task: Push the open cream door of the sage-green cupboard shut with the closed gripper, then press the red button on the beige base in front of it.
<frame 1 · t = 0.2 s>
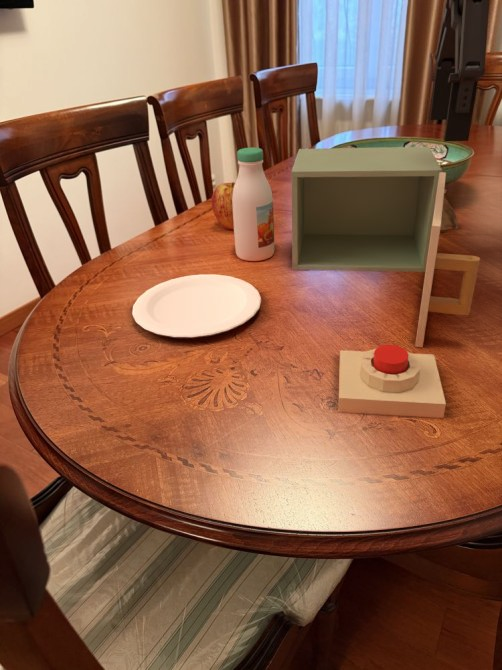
hand: (447, 129, 69), 26 cm above the table, tool pointing down, fingers open, 13 cm apart
plate: (198, 311, 85), on the table
rock: (431, 233, 108), on the table
milk bottle: (255, 255, 103), on the table
button: (390, 359, 63), point 4 cm above the table, slide at 0.1 cm
door: (450, 255, 76), point 9 cm above the table, hinge at 80.0°
button base: (387, 388, 65), on the table
cupboard: (357, 253, 100), on the table
apple: (234, 227, 117), on the table
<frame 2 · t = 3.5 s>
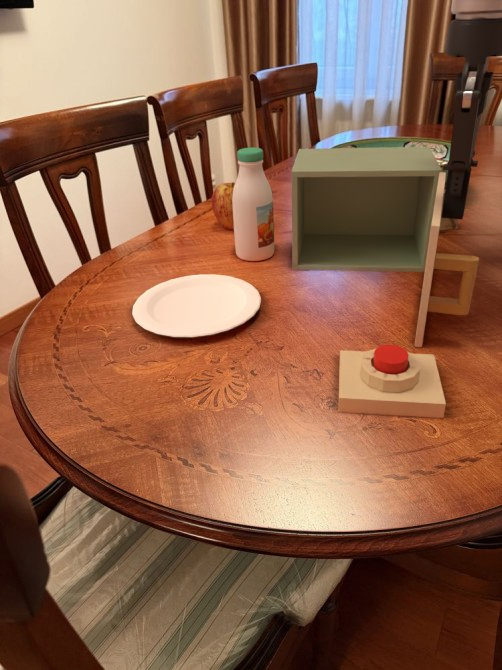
hand: (452, 216, 71), 16 cm above the table, tool pointing down, fingers closed
door: (450, 255, 76), point 9 cm above the table, hinge at 79.7°, touching gripper
everything else where it was.
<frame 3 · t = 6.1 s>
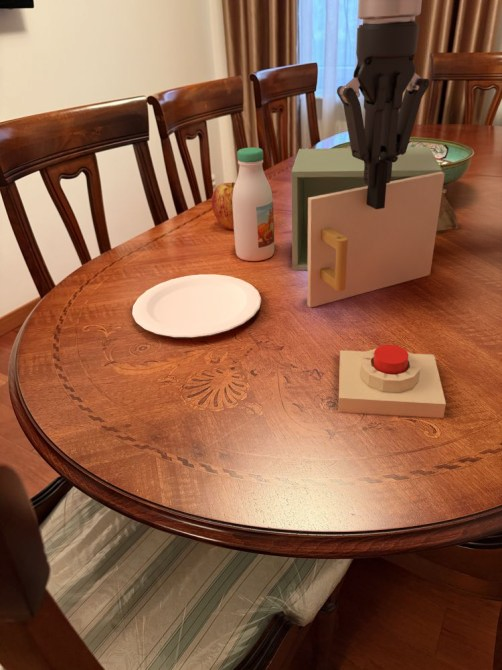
hand: (375, 206, 77), 15 cm above the table, tool pointing down, fingers closed
door: (385, 245, 81), point 9 cm above the table, hinge at 32.9°, touching gripper
everything else where it was.
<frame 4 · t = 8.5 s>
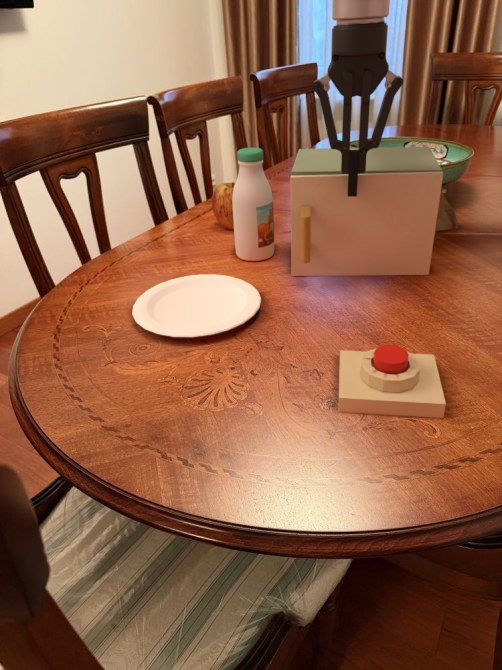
hand: (352, 193, 83), 15 cm above the table, tool pointing down, fingers closed
door: (363, 232, 85), point 9 cm above the table, hinge at 3.8°, touching gripper
everything else where it was.
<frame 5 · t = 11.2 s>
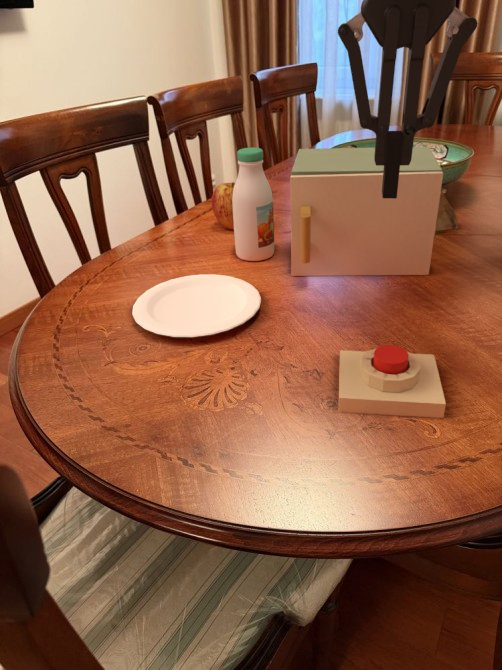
hand: (389, 194, 58), 23 cm above the table, tool pointing down, fingers closed
door: (363, 232, 86), point 9 cm above the table, hinge at 3.7°
everything else where it was.
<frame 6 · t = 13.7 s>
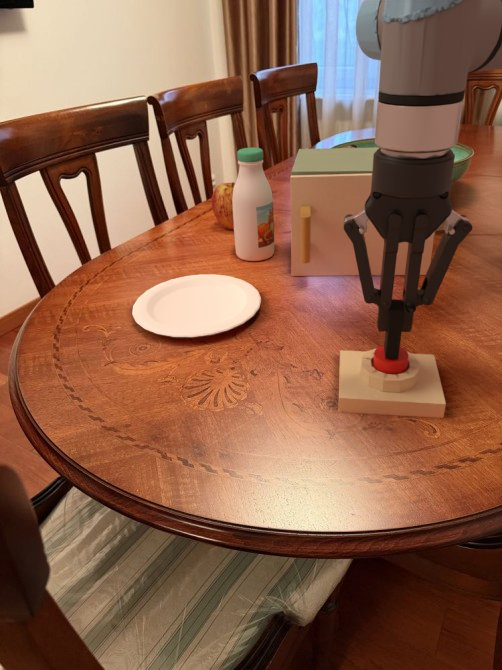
hand: (390, 352, 62), 6 cm above the table, tool pointing down, fingers closed
button: (390, 359, 63), point 4 cm above the table, slide at 0.1 cm, touching gripper
everything else where it was.
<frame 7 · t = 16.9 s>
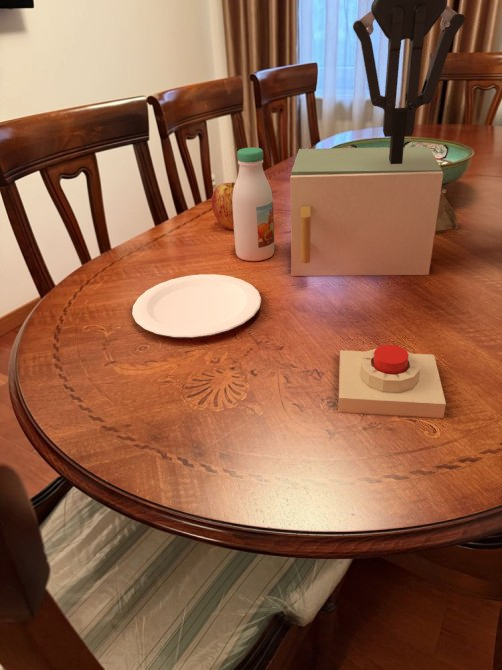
hand: (395, 161, 70), 23 cm above the table, tool pointing down, fingers closed
button: (390, 359, 63), point 4 cm above the table, slide at 0.1 cm
everything else where it was.
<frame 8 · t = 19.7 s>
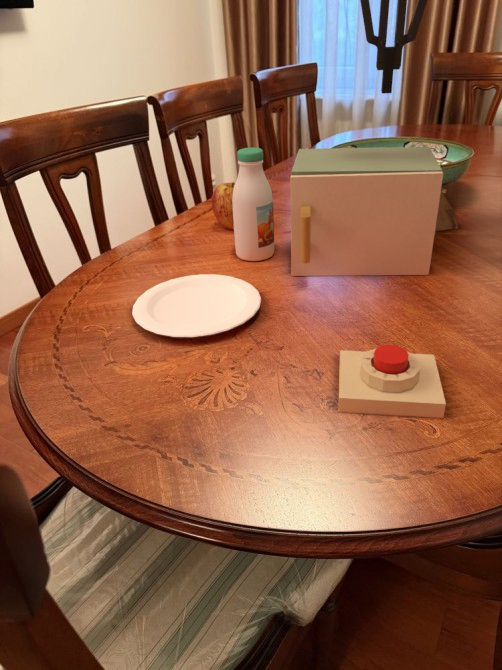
hand: (386, 92, 86), 28 cm above the table, tool pointing down, fingers closed
nothing on the table moved.
at the end: door at +4° (first picture: +80°); button pushed in 1.0 cm at the most during the clip, back to where it started at the end; button slide at 0.1 cm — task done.
